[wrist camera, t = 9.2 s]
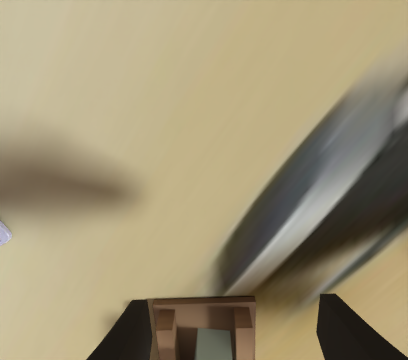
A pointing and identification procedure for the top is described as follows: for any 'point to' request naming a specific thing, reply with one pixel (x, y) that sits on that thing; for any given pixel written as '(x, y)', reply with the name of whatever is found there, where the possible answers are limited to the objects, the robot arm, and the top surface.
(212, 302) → the floor track
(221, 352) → the pale teal block
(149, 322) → the robot arm
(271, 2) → the top surface
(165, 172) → the top surface
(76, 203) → the top surface
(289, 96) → the top surface
